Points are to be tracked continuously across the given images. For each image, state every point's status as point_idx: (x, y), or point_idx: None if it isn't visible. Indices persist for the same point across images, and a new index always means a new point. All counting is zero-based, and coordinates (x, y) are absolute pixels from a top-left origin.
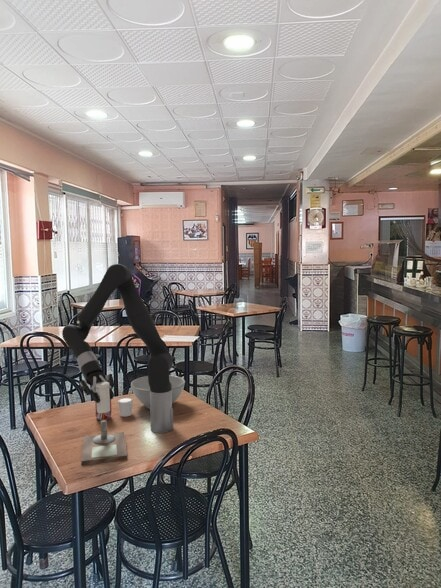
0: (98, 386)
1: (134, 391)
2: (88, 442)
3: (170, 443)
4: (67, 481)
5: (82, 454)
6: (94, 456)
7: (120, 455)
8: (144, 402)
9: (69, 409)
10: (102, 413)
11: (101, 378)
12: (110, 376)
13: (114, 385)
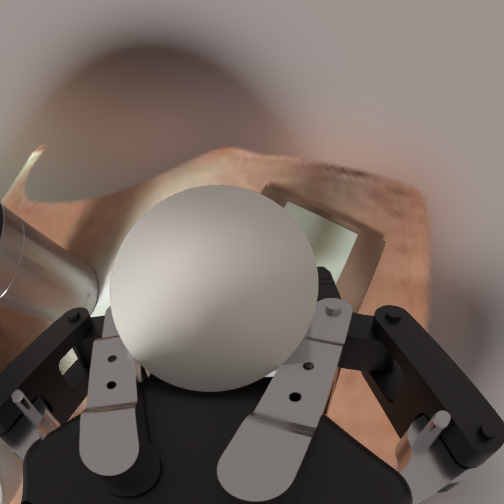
0: (304, 240)
1: (9, 475)
2: None
3: (127, 197)
4: (424, 199)
5: (369, 281)
6: (347, 236)
7: (280, 195)
8: None
9: None
10: None
11: (125, 408)
12: (3, 391)
13: (71, 309)
